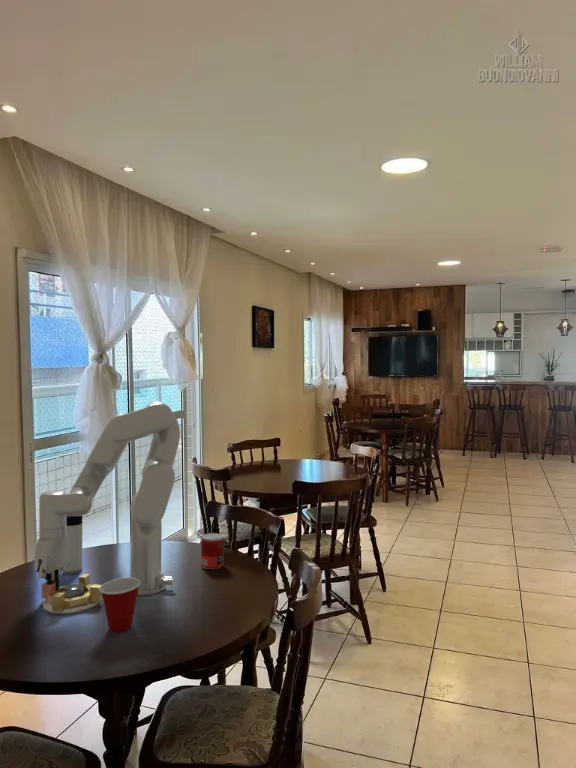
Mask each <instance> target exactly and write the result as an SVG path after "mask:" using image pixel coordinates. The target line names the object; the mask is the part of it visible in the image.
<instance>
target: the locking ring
mask: <svg viewBox="0 0 576 768" xmlns="http://www.w3.org/2000/svg"><path fill="white" fill-rule="evenodd" d="M78 584H81V585H83V586H84V593H86V594H85V595H83V596H79V597H75V598H65V593H61V588H62V587H64V586H65V585H62V586H59V588H57V589H55V582H52V583H51V582H47V581H44V582H43V583H42V584H41V599H44V600H45V599H48V602H49V603H50V605H51V606H52V611H55V612H60V611H61V610H62V609H64V608H72V607H76V606H80V605H84V604H88V603H89V602H90V601H91V602H100V603H101V601H102V600H104V599H103V596H102V593H101V592H100V591H99V588H100V586H101V585H102V584H91V573H83V574H81V575H80V576H78Z"/></svg>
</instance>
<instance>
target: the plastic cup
mask: <svg viewBox="0 0 576 768" xmlns="http://www.w3.org/2000/svg"><path fill="white" fill-rule="evenodd" d="M140 582H141V581H140V580H139V579H136V578H130V577H122V578H121V577H120V578H115V579H112V580H109V581H106V582H104V583H102V584H100V585H101V586H100V588H99V591H100V592H101V593H102V596H103V599H102V600H103V604H104V609H105V615H106V619H107V625H108V628H109V631H110V632H112V633H122V632H123V631H124V632H126V630H127V631H129V630H130V629H131V628H132V625H133V621H134V616H135V611H136V604H137V597H138V596H137V594H138V588H139V586H140ZM129 628H130V629H129ZM128 629H129V630H128ZM124 632H123V633H124Z"/></svg>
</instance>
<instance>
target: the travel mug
mask: <svg viewBox="0 0 576 768" xmlns="http://www.w3.org/2000/svg"><path fill="white" fill-rule="evenodd" d="M66 526H67V527H66V534H67V537H68V545H69V562H68V564H67V567H66V568H65V569H63V570H62V573H63V574H64V575H77V574H79V573H81V572H82V571H83V516H66Z"/></svg>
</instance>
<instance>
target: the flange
mask: <svg viewBox="0 0 576 768" xmlns="http://www.w3.org/2000/svg"><path fill="white" fill-rule="evenodd" d="M63 586H64V587H62V588H61V593H65V598H75V597H79V596H83V595H85V594H86V593H84V586H83V585H81V584H79V583H70V584H67V585H63ZM100 603H101V601H100V602H91V601H90V602H89V603H88V604H84V605H80V606H76V607H72V608H64V609H62V610H61V611H60V612H55V611H52V606H51V605H50V603H49V602H48V599H45V598H44V601H43V600H42V601H39V604H42V609H43V610H44V612H45V613H48V614H51V615H57V616H58V615H59V616H61V615H62V616H66V615H67V616H68V615H75V614H79V613H83V612H87V611H89V610H91V609H93V608H95V607H96V606H98V605H99V604H100Z"/></svg>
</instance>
